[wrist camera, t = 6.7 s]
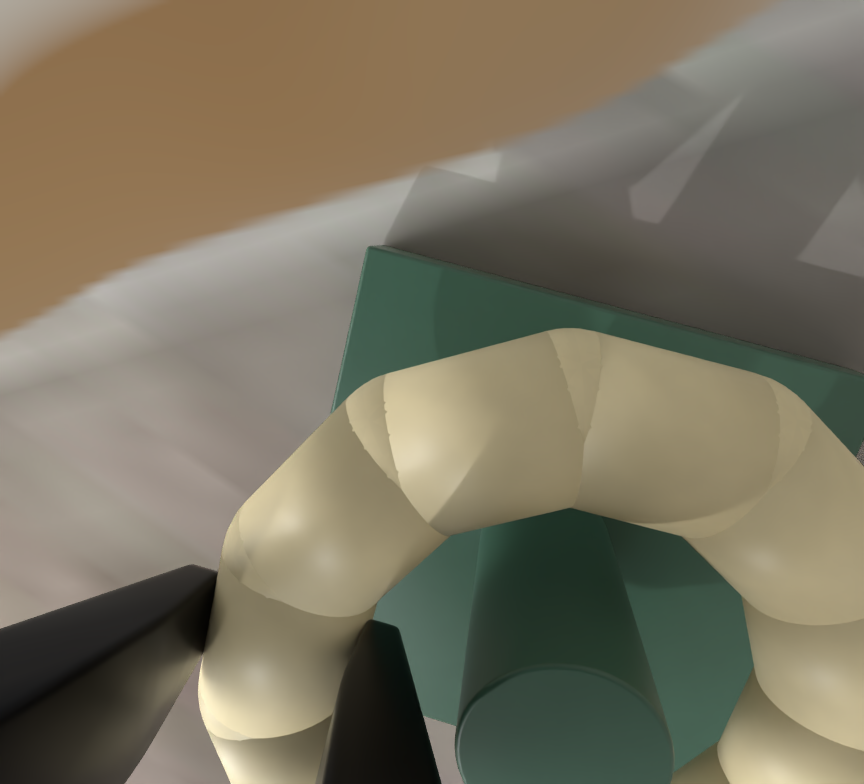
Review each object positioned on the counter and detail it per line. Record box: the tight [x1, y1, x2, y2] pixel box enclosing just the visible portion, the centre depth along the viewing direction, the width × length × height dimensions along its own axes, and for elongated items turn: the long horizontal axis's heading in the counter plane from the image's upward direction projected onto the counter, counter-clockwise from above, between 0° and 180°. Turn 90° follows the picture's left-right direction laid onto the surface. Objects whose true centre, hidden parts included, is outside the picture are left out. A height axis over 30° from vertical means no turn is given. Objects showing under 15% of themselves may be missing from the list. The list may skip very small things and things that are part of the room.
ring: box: [198, 328, 864, 784], centre depth 8 cm, size 9×9×2 cm
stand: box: [331, 245, 864, 784], centre depth 10 cm, size 9×9×6 cm
